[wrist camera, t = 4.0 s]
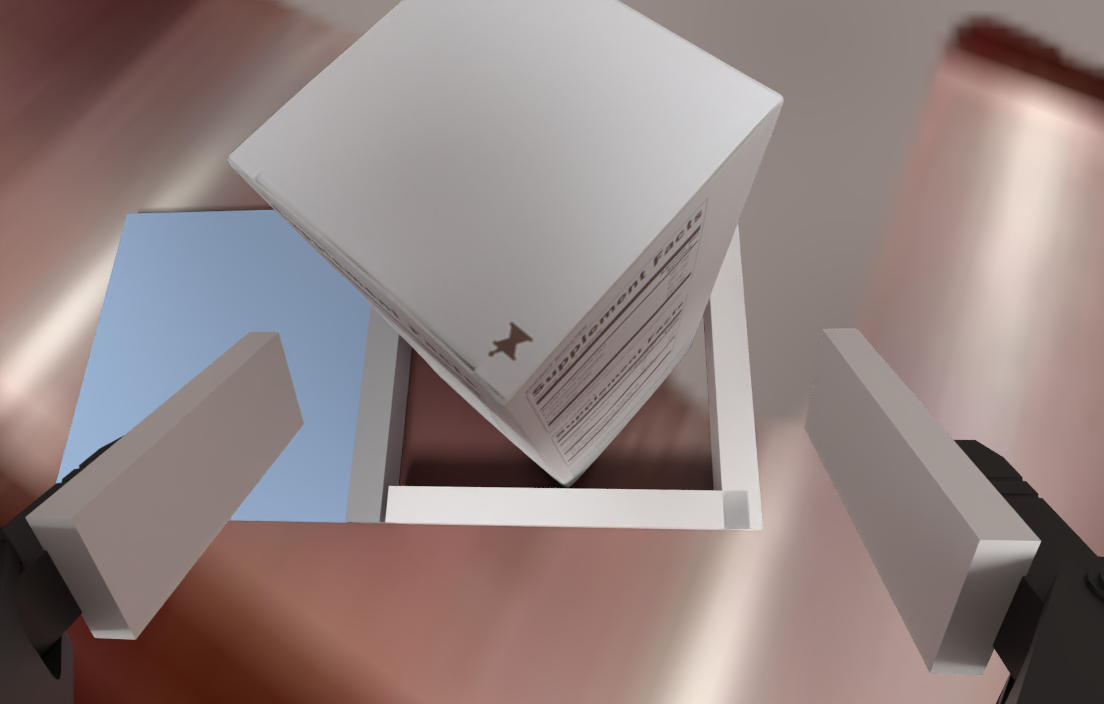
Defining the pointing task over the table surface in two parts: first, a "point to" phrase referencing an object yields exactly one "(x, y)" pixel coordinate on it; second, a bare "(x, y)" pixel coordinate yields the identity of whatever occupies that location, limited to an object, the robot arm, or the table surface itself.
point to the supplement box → (524, 200)
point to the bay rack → (359, 383)
